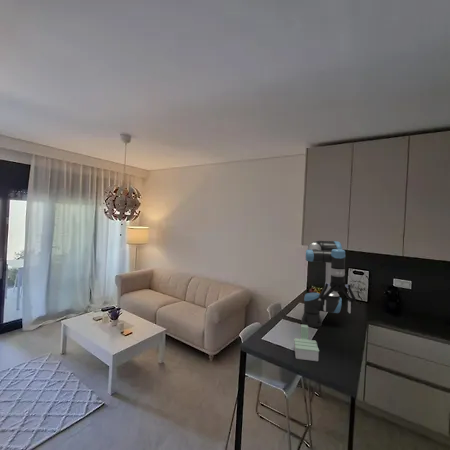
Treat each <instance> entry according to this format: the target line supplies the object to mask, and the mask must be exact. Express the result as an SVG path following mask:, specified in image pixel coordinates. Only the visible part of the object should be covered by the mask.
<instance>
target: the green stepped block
mask: <svg viewBox="0 0 450 450" xmlns="http://www.w3.org/2000/svg"><path fill="white" fill-rule="evenodd" d="M293 341H294V347H295V349H296V350H304V351H313V352H318V353H320V349H319V347H318V342H317V341H316V340H313V339H309V326H308V325H304V324H303V323H302V324H300V338H296V337H295V338H293ZM295 349H294V350H295Z"/></svg>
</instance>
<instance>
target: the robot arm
mask: <svg viewBox="0 0 450 450" xmlns="http://www.w3.org/2000/svg"><path fill="white" fill-rule="evenodd" d="M305 262H313V263H325V282H324V286H323V288H322V290H321V292H320V293H319V292H308V293H305V294H304V299H303V302H304V304H303V314H302V317H301V320H300V321H301V323H302V325H308V327H312V328H320V327H322V326H323V321H322V318H321V314H320V313H321V312H324V313H332V314H339V313H340V312H341V309H342V304H343V303H342V301H343V300H342V297H340V294H339V293H341V292H342V293H343V294H344V295H345V297H346V298H347V299H348V300H347V312H348V314H351V309H352V308H353V303H354V302H356V301H357V298H356V296H355V295H354V292H353V290H352V287H351V285H350V284H349V283H347V284H346V282H345V281H346V279H345V275H346V273H345V272H346V250H344V249H343V247H342V243H341V242H340V241H337V240H336V241H335V240H316V241H313V242H311V243H309V245H308V246H307V249H306V250H305ZM345 288H346V289H347V291H348V293H349V294H348V293H347V291H345ZM338 292H339V293H338Z"/></svg>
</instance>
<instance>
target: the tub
mask: <svg viewBox="0 0 450 450" xmlns="http://www.w3.org/2000/svg"><path fill="white" fill-rule="evenodd" d="M294 355H295V359H297V360H305V361H313V362H319V352H313V351H304V350H296V349H295V346H294Z"/></svg>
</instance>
